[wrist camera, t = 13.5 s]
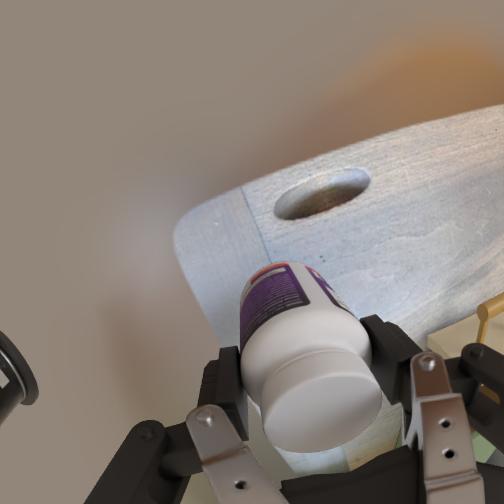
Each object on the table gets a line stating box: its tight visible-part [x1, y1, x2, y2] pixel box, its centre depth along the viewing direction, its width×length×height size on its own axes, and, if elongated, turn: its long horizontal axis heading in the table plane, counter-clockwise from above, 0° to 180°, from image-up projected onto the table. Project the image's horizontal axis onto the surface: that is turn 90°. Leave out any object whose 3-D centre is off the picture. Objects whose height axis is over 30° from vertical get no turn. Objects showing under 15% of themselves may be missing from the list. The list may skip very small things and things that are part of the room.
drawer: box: [427, 292, 504, 434], centre depth 18 cm, size 18×11×8 cm, turn 12°
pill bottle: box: [240, 261, 382, 453], centre depth 12 cm, size 5×5×10 cm
